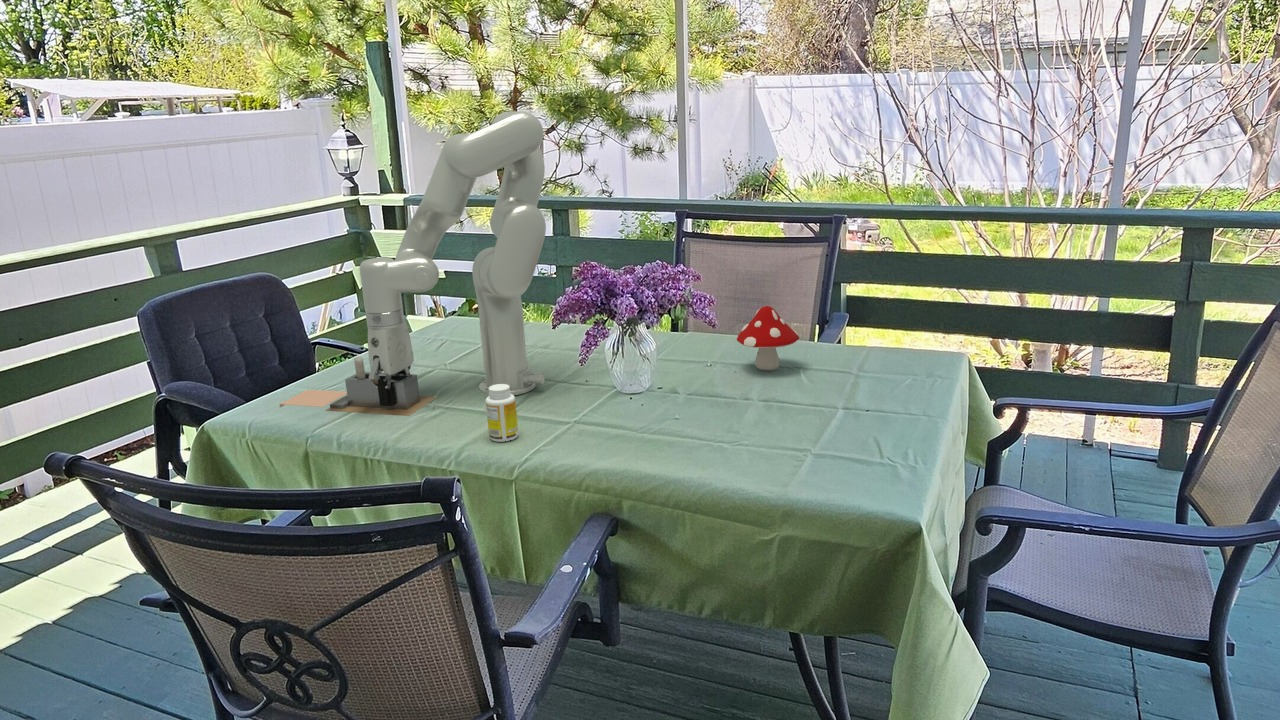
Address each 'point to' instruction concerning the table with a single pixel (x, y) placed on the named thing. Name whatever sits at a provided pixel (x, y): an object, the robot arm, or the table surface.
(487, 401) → the supplement bottle
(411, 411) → the post block
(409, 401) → the steel link
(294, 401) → the terracotta tile
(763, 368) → the decorative mushroom
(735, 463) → the table surface
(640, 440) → the table surface
